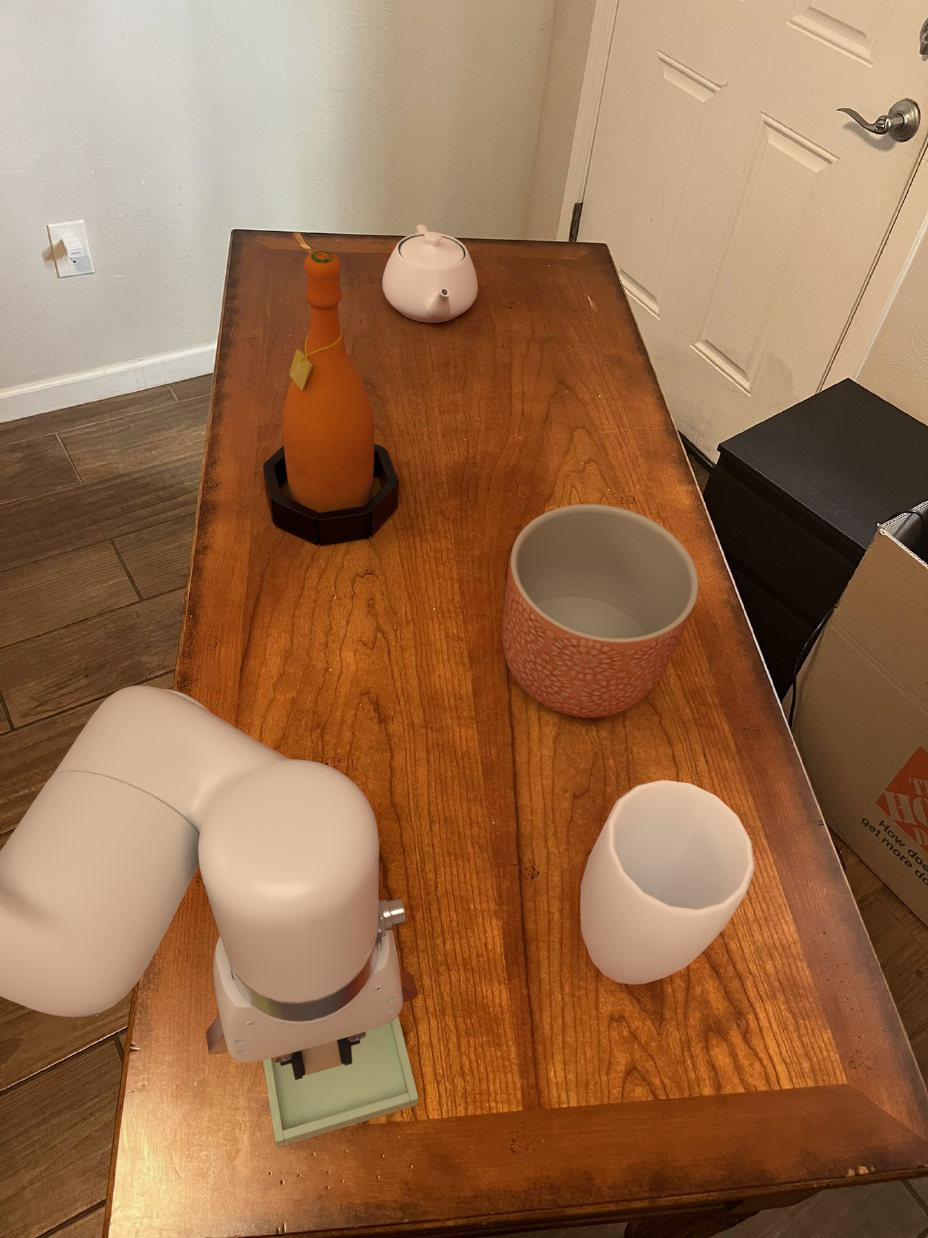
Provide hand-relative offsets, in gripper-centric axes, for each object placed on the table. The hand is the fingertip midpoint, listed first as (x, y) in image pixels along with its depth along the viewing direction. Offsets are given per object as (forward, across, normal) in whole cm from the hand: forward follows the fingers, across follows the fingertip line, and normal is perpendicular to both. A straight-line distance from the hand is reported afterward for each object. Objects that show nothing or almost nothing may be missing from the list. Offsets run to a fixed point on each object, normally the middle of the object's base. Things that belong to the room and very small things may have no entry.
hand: (319, 1047), depth 61 cm
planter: (+10, -32, -32) cm, 46 cm away
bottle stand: (+10, -13, -62) cm, 64 cm away
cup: (+10, -24, -3) cm, 26 cm away
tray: (+10, -1, -8) cm, 12 cm away
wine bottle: (+10, -13, -62) cm, 64 cm away
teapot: (+10, -35, -99) cm, 105 cm away
